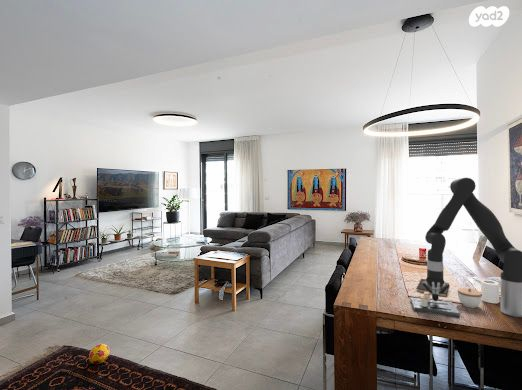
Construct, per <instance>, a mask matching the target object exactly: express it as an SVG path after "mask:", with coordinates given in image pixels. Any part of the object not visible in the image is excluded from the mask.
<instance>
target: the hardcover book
mask: <svg viewBox="0 0 522 390" xmlns="http://www.w3.org/2000/svg"><path fill="white" fill-rule="evenodd" d="M424 281H426V278H420V281H419V282H418V284H417V286H416V292H419V293H424V292H429V291H428V290H427V289H426V288H425V287H424V285H423V284H422V282H424ZM444 282H445V283H446V284H448V285H449V287H448V288H447V289H446V290H445V291H444V292H443V293H442V294H439V296H441V297H446V298H447V297H448V293H449V288H450V283H449V282H446V281H444ZM427 286H428V287H429V289H431V286H430V285H429V284H428V283H427ZM442 287H443V285H442V286H441V287H440V288H439V290H440V289H441V288H442ZM429 293H430V292H429ZM430 295H432V293H430Z"/></svg>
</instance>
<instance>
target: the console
mask: <svg viewBox="0 0 522 390" xmlns="http://www.w3.org/2000/svg"><path fill="white" fill-rule="evenodd" d="M410 303H411V306H412V309H413V311H414V312H418V313H419V312H420V313H425V314H426V313H427V314H434V315H442V316H450V317H456V318H457V317H458V318H460V315H461V313H460V311H459V310H458V309H457V306H456V305H455V304H454V302H452V301H446V300H445V301H444V300H443V301H442V300H437V301H434V300H433V299H430V302H427V307H424V306H422V305H421V297H420V298H418V297H410Z"/></svg>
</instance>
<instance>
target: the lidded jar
mask: <svg viewBox="0 0 522 390" xmlns="http://www.w3.org/2000/svg"><path fill="white" fill-rule="evenodd" d="M457 297H458V300H459V302H460V303H461V304H462V305H463V306H464V307H467V308H471V309H472V308H473V309H475V308H477V307H479V306H480V305H481V303H482V301H483V293H482V292H481V291H479V290H477V289H473V288H469V287H468V288H467V287H466V288H465V287H460V288H458V289H457Z"/></svg>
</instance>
